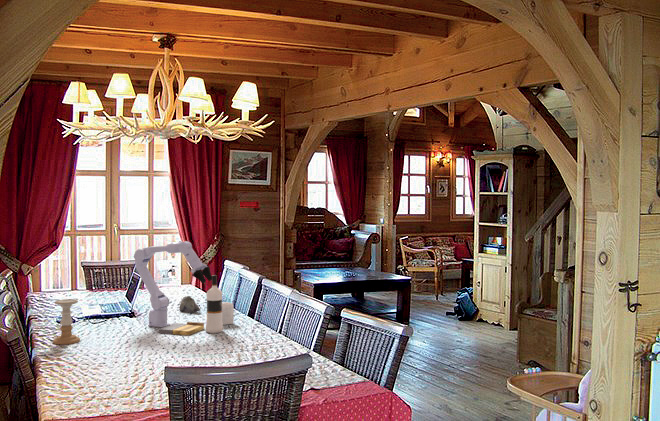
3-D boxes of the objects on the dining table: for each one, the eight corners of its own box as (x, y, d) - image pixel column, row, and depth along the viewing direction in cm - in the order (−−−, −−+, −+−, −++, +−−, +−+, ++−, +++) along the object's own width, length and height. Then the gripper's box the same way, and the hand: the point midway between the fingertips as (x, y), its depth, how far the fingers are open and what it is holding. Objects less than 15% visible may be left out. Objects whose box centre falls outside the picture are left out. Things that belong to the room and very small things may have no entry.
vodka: (204, 330, 334) (204, 274, 333) (221, 329, 337) (221, 273, 336) (207, 334, 325) (207, 276, 324) (224, 332, 329) (224, 275, 328)
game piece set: (250, 362, 273) (250, 353, 273) (215, 356, 284) (215, 347, 284) (277, 353, 290) (277, 344, 290) (243, 347, 300) (243, 339, 300)
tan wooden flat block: (172, 333, 325) (172, 327, 325) (188, 327, 340) (188, 321, 340) (188, 335, 322) (188, 329, 322) (204, 328, 338) (204, 322, 337)
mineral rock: (201, 313, 381) (201, 297, 380) (183, 315, 375) (183, 298, 375) (195, 309, 392) (195, 293, 392) (178, 311, 387) (178, 295, 386)
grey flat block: (158, 332, 327) (158, 328, 327) (174, 326, 343) (174, 322, 343) (172, 334, 325) (172, 330, 325) (187, 327, 340) (187, 323, 340)
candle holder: (85, 340, 311) (85, 299, 310) (67, 345, 299) (67, 303, 299) (65, 338, 315) (65, 298, 314) (47, 343, 303) (46, 302, 303)
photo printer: (231, 322, 354) (231, 300, 354) (234, 324, 350) (234, 302, 350) (214, 324, 348) (214, 302, 348) (217, 326, 345) (217, 303, 344)
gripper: (192, 258, 331) (206, 279, 330) (205, 254, 345) (219, 275, 344) (183, 265, 333) (197, 286, 332) (196, 261, 347) (210, 282, 346)
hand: (207, 281), depth 338 cm, fingers open, 7 cm apart
